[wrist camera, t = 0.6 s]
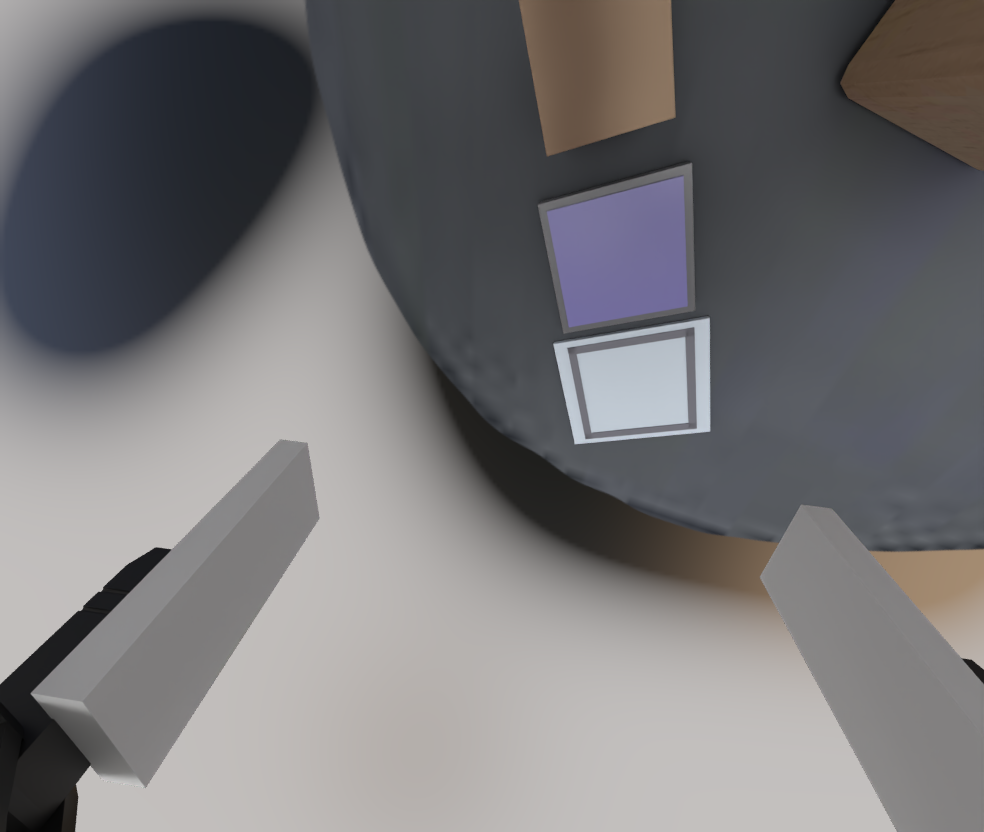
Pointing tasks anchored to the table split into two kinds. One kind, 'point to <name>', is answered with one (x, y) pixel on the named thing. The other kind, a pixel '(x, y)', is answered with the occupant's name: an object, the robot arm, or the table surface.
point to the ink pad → (622, 249)
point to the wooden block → (926, 73)
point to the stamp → (599, 67)
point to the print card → (638, 381)
